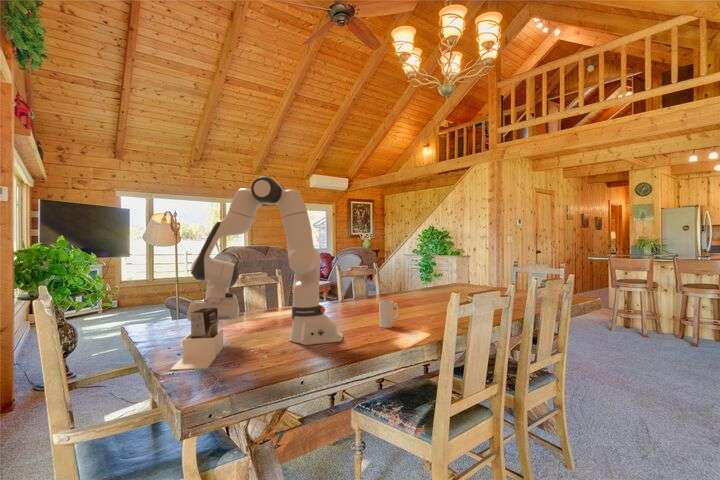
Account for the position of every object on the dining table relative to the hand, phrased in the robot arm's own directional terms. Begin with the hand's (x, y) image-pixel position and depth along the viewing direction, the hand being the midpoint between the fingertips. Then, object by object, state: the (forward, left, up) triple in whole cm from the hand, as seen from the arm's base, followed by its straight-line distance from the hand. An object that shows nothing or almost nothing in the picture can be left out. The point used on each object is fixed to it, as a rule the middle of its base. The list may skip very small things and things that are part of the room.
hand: (210, 328), depth 156 cm
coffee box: (0, +8, -7) cm, 11 cm away
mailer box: (0, +15, -7) cm, 17 cm away
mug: (-77, -22, -7) cm, 80 cm away
